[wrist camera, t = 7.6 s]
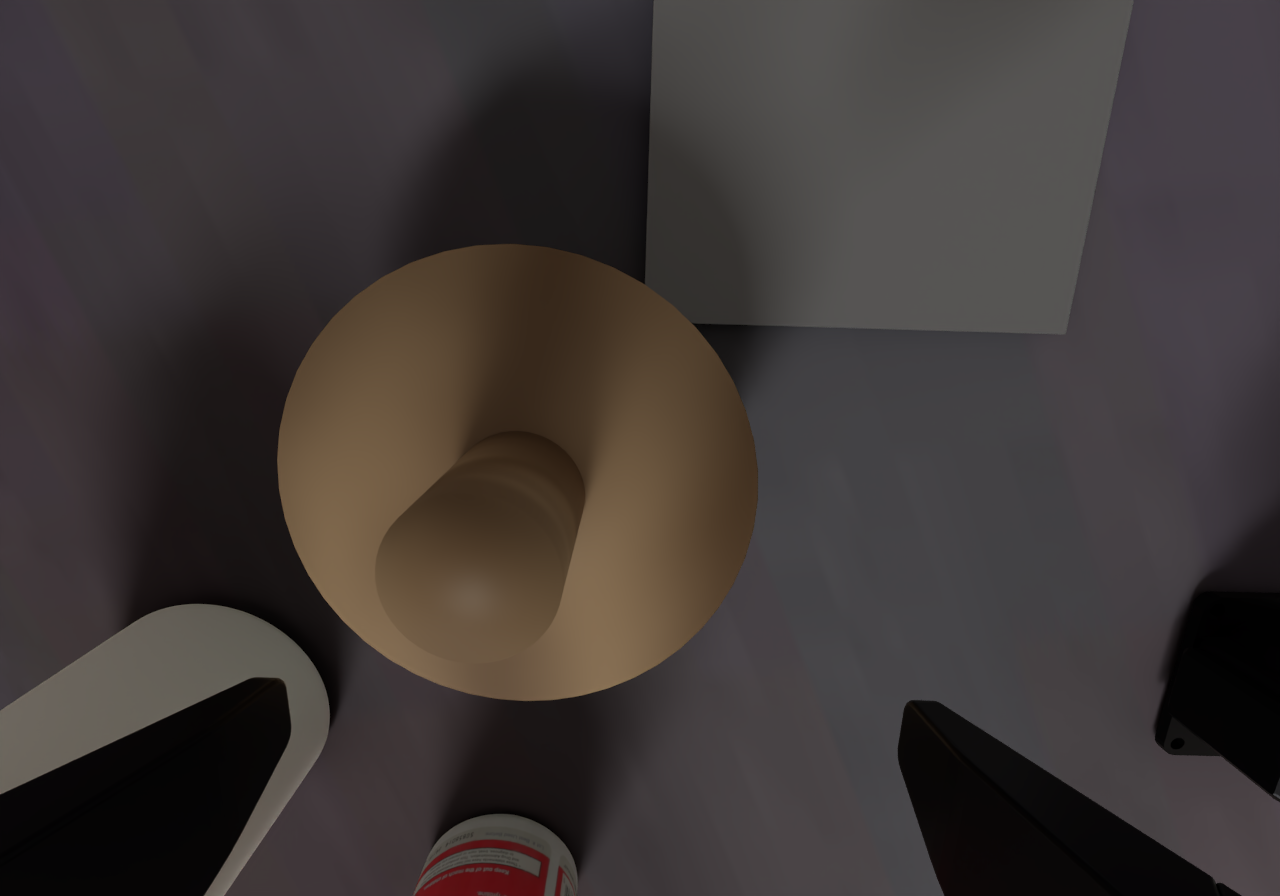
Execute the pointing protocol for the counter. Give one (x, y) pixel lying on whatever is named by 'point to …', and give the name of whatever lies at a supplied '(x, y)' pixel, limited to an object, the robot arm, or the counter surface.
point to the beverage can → (168, 701)
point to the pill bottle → (498, 860)
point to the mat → (877, 159)
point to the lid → (517, 472)
